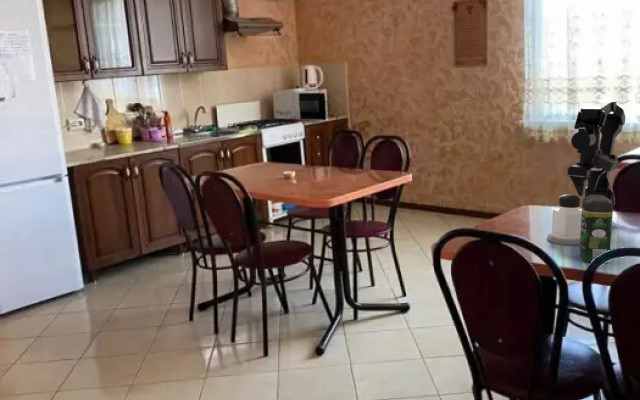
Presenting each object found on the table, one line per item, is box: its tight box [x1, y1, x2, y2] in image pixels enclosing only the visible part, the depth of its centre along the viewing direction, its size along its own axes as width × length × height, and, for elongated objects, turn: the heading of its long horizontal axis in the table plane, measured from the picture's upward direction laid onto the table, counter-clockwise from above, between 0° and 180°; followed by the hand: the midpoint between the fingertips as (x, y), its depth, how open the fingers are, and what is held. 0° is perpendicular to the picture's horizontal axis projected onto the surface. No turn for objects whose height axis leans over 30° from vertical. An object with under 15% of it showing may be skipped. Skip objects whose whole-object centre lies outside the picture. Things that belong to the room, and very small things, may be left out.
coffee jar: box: [579, 195, 614, 263], centre depth 177 cm, size 10×8×19 cm
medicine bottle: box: [551, 194, 582, 236], centre depth 197 cm, size 7×7×12 cm
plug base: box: [546, 231, 580, 247], centre depth 198 cm, size 12×12×2 cm
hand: (586, 193), depth 205 cm, fingers open, 9 cm apart
